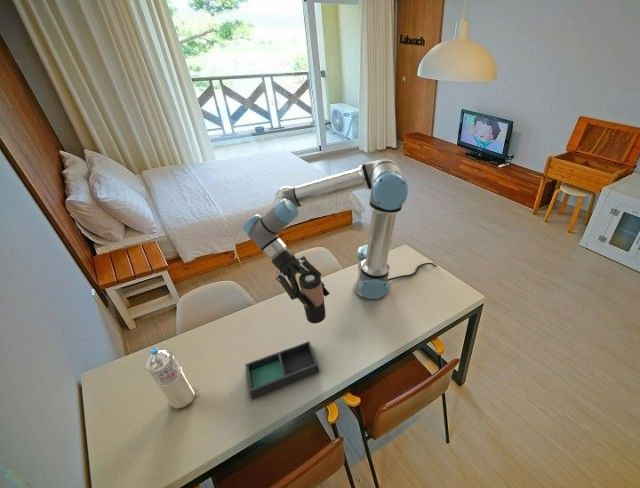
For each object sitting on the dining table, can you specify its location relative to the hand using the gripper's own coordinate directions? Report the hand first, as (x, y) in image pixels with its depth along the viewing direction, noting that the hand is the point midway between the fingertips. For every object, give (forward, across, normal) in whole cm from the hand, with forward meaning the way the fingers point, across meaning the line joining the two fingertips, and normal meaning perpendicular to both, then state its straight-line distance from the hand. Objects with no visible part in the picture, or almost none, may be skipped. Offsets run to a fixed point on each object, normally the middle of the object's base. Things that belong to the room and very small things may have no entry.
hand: (320, 301), depth 117 cm
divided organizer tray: (+11, +20, -15) cm, 28 cm away
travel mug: (+4, 0, -9) cm, 10 cm away
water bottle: (-4, +43, -31) cm, 53 cm away
